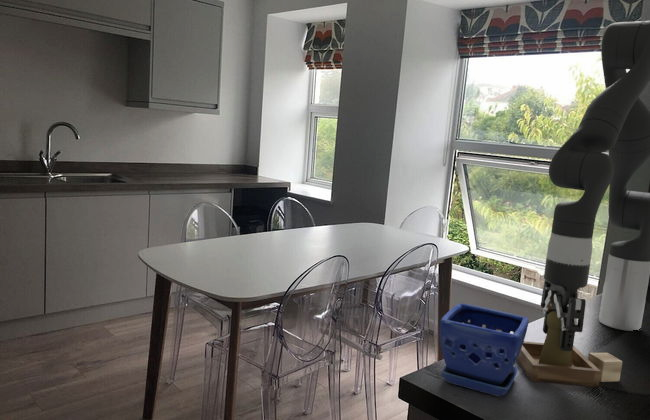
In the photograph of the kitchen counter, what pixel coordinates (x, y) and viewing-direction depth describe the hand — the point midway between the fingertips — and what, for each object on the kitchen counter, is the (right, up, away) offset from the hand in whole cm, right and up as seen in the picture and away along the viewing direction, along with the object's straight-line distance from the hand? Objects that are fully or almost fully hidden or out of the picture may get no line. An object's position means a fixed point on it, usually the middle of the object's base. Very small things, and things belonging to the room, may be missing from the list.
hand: (556, 341), depth 103 cm
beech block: (+8, -7, -1) cm, 11 cm away
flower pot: (-17, -6, -6) cm, 19 cm away
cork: (0, -5, 0) cm, 5 cm away
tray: (0, -6, +1) cm, 6 cm away
